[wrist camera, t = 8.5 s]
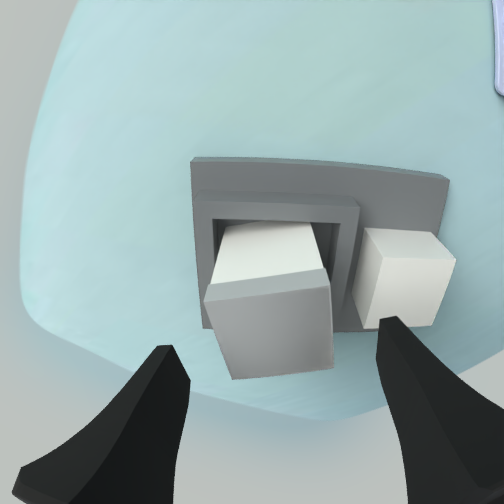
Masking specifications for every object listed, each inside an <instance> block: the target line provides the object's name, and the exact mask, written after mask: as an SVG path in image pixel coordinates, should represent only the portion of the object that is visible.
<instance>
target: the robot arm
mask: <svg viewBox="0 0 504 504" xmlns="http://www.w3.org/2000/svg"><path fill="white" fill-rule="evenodd" d="M492 5H493V15H494V30H495V88H496V91H497V92H498V93H499V94H500V95H503V96H504V0H492ZM376 362H377V366H378V371H379V376H380V380H381V384H382V387H383V390H384V393H385V396H386V399H387V402H388V405H389V408H390V412H391V415H392V418H393V420H394V424H395V427H396V430H397V433H398V437H399V441H400V445H401V450H402V456H403V463H404V469H405V477H406V484H407V496H408V504H504V409H502V408H501V407H500V406H498V405H496V404H495V403H493V402H491V401H490V400H488V399H486V398H485V397H484V396H482V395H481V394H479V393H478V392H477V391H475V390H474V389H473V388H471V387H470V386H469V385H467V384H466V383H465V382H464V381H463V380H461V379H460V378H459V377H458V376H457V375H455V374H454V373H453V372H452V371H451V370H450V369H449V368H448V367H446V366H445V365H444V364H443V363H442V362H441V361H440V360H439V359H438V358H437V357H436V356H435V355H434V354H433V353H432V352H431V351H430V350H429V349H428V348H427V347H426V346H425V345H424V344H423V343H422V342H421V341H420V340H419V339H418V338H417V337H416V336H415V335H414V334H413V333H412V331H411V330H410V329H409V328H408V327H407V326H406V325H405V324H404V323H403V322H402V321H401V319H400V318H399V317H397V316H392V317H387V318H381V319H379V331H378V343H377V353H376ZM190 382H191V380H190V378H189V376H188V374H187V373H186V371H185V369H184V367H183V365H182V363H181V361H180V359H179V357H178V355H177V353H176V351H175V349H174V347H173V345H159V346H157V347H156V348H155V349H154V350H153V351H152V353H151V354H150V355H149V356H148V358H147V359H146V360H145V361H144V363H143V364H142V365H141V366H140V368H139V369H138V370H137V371H136V373H135V374H134V375H133V376H132V377H131V379H130V380H129V381H128V382H127V383H126V385H125V386H124V387H123V388H122V389H121V391H120V392H119V393H118V394H117V395H116V396H115V397H114V398H113V399H112V401H111V402H110V403H109V404H108V405H107V406H106V407H105V409H103V410H102V411H101V412H100V413H99V414H98V415H97V416H96V417H95V418H94V419H93V420H92V421H91V422H90V423H89V424H88V425H86V426H85V427H84V428H83V429H82V430H80V431H79V432H78V433H77V434H75V435H74V436H73V437H72V438H70V439H69V440H68V441H66V442H65V443H64V444H62V445H61V446H59V447H58V448H57V449H55V450H53V451H52V452H50V453H48V454H47V455H45V456H43V457H41V458H39V459H37V460H35V461H34V462H31V463H29V464H28V465H26V466H23V467H21V469H20V472H19V475H18V477H17V479H16V482H15V485H14V487H13V490H12V494H13V495H14V496H15V497H17V498H18V499H20V500H21V501H23V502H25V503H26V504H173V493H174V476H175V465H176V459H177V453H178V449H179V445H180V440H181V436H182V431H183V427H184V423H185V418H186V413H187V409H188V403H189V394H190Z"/></svg>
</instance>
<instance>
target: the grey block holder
mask: <svg viewBox="0 0 504 504" xmlns="http://www.w3.org/2000/svg"><path fill="white" fill-rule="evenodd" d="M190 166H191V188H192V206H193V222H194V237H195V250H196V263H197V274H198V286H199V296H200V306H201V316H202V325H203V329H213V327H212V325H211V322H210V319H209V316H208V314H207V311H206V308H205V305H204V298H205V294H206V291H207V287H208V285H209V284H210V283H211V279H212V276H213V272H214V268H215V264H216V261H217V257H218V253H219V250H220V246H221V242H222V239H223V235H224V231H225V228H226V227H228V226H234V225H241V224H247V223H253V222H259V221H265V220H273V221H299V222H310V224H311V227H312V230H313V234H314V237H315V240H316V244H317V247H318V250H319V254H320V257H321V261H322V264H323V267H324V268H326V272H327V275H328V279H329V282H330V289H331V305H332V324H333V332H373V331H379V319H381V318H387V317H392V316H397V317H399V318H400V319H401V321H402V322H403V323H404V324H405V325H406V326H407V327H419V326H432V324H433V321H434V319H435V316H436V314H437V312H438V309H439V307H440V304H441V302H442V299H443V297H444V294H445V291H446V289H447V286H448V283H449V281H450V278H451V275H452V272H453V269H454V266H455V263H456V259H455V257H454V256H453V255H452V254H451V253H450V252H449V251H448V250H447V249H446V248H445V246H444V245H443V244H442V243H441V242H440V241H439V240H438V239H437V235H438V231H439V227H440V223H441V219H442V215H443V210H444V206H445V202H446V197H447V192H448V187H449V182H450V180H449V179H447V178H446V177H444V176H442V175H439V174H433V173H427V172H420V171H413V170H406V169H398V168H390V167H382V166H373V165H363V164H353V163H342V162H330V161H316V160H300V159H279V158H247V157H195V158H194V159H193V160H192V161H191V162H190Z"/></svg>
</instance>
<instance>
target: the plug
mask: <svg viewBox="0 0 504 504" xmlns="http://www.w3.org/2000/svg"><path fill="white" fill-rule="evenodd" d="M204 305H205V308H206V311H207V314H208V316H209V319H210V322H211V325H212V327H213V330H214V333H215V336H216V338H217V341H218V344H219V346H220V349H221V352H222V354H223V357H224V360H225V362H226V365H227V368H228V370H229V373H230V375H231V378H232V380H235V379H248V378H260V377H270V376H279V375H288V374H296V373H304V372H311V371H318V370H325V369H331V368H334V350H333V324H332V305H331V289H330V282H329V279H328V275H327V272H326V268H324V267H323V264H322V261H321V257H320V254H319V250H318V247H317V244H316V240H315V237H314V234H313V230H312V227H311V224H310V222H299V221H273V220H265V221H259V222H253V223H247V224H241V225H234V226H228V227H226V228H225V231H224V235H223V239H222V242H221V246H220V250H219V253H218V257H217V261H216V264H215V268H214V272H213V276H212V279H211V283H210V284H209V285H208V287H207V291H206V294H205V298H204Z"/></svg>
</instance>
